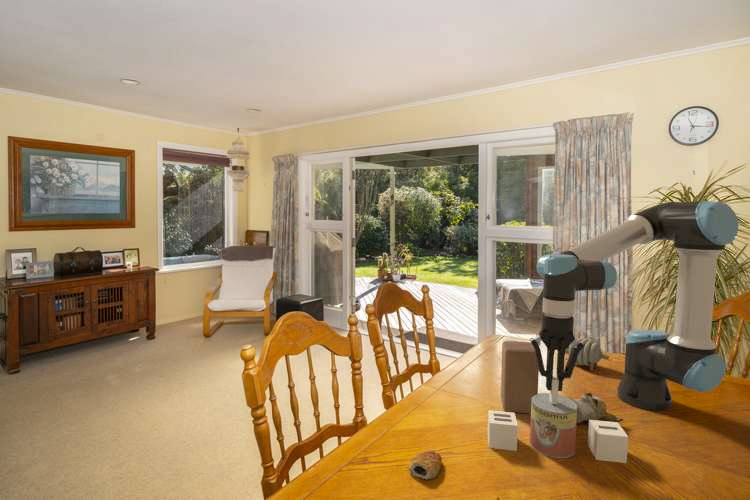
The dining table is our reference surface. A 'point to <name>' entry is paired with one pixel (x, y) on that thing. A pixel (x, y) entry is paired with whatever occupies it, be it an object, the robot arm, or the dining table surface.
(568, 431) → the canned food
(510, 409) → the block
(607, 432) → the marked cube 2
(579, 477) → the dining table surface
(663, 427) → the dining table surface
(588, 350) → the grey armadillo figurine
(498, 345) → the dining table surface
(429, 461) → the pastry
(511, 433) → the marked cube 1
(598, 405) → the ceramic sculpture
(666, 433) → the dining table surface
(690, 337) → the robot arm
